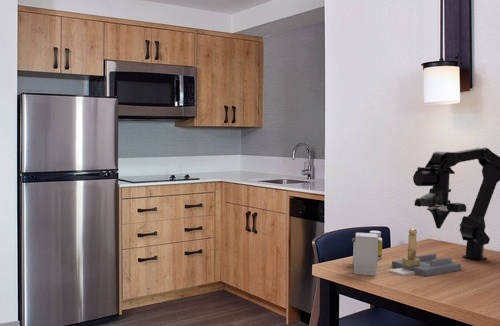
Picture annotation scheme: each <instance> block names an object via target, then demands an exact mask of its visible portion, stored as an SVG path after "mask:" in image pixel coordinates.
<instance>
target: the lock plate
mask: <svg viewBox="0 0 500 326" xmlns="http://www.w3.org/2000/svg"><path fill="white" fill-rule="evenodd" d="M416 258H418V259H420V265H416V266H407V265H403V264H402V262H403V259H397V260H393V261H391V267H392V268H393V269H397V268H403V269H407V270H411V271H414V272H415V274H414V275H419V276H422V277H429V276H433V275H434V276H435V275H441V274H447V273H451V272H457V271H461V270H462V263H459V262H455V261H453V259H452V257H450V256H448V257H447V256H446V257H442V258H438V257H437V254H436V253H428V254H422V255H421V254H420V255H416Z"/></svg>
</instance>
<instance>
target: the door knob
mask: <svg viewBox="0 0 500 326" xmlns="http://www.w3.org/2000/svg"><path fill="white" fill-rule="evenodd" d="M417 234H418V233H417V230H416V229H415V228H410V229H409V230H408V240H407V257H405V258H404V257H403V258H402V260H403V262H402V264H403V265H407V266H416V265H420V259H418V258H416V256H417V255H416V254H417V238H418V237H417Z"/></svg>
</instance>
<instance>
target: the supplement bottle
mask: <svg viewBox="0 0 500 326" xmlns="http://www.w3.org/2000/svg"><path fill="white" fill-rule="evenodd" d="M369 233H373V234H377V235H378V240H380V243H379V244H378V258H377V260H380V259H382V255H383V238H382V237H381V235H382V231H379V230H370V231H369Z"/></svg>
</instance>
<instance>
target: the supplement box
mask: <svg viewBox="0 0 500 326" xmlns="http://www.w3.org/2000/svg"><path fill="white" fill-rule="evenodd" d="M354 238H355V252H354V265H353V274H354V275H365V276H375V277H376V276H377V271H378V269H377V268H378V259H377V252H378V235H377V234H373V233H370V232H355V237H354Z"/></svg>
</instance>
